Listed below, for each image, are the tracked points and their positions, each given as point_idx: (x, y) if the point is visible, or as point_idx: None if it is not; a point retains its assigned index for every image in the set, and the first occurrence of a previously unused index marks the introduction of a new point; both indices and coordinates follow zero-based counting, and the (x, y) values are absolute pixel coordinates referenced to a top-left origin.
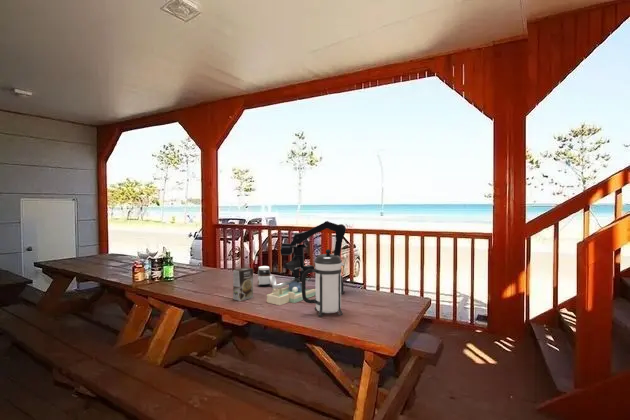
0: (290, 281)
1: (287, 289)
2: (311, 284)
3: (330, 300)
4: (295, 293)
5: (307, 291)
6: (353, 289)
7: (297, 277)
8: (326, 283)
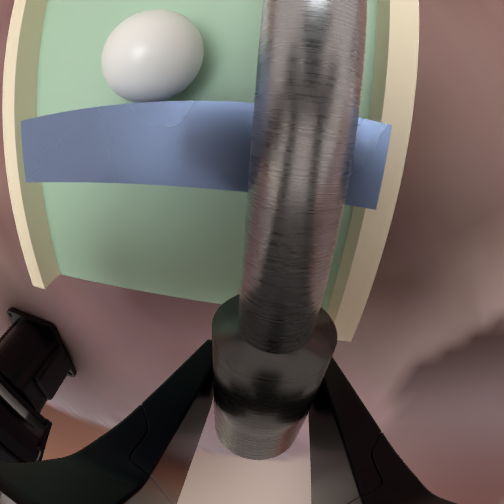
0: (273, 39)
1: (371, 116)
2: (300, 437)
3: None
4: None
5: (7, 123)
6: (58, 398)
7: (269, 403)
8: None
